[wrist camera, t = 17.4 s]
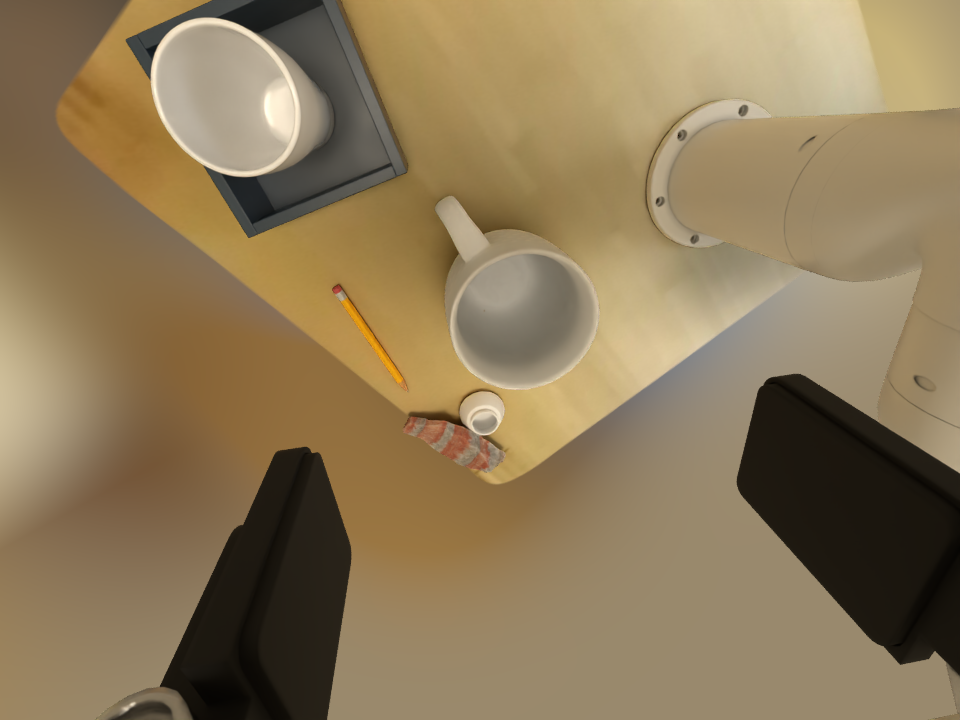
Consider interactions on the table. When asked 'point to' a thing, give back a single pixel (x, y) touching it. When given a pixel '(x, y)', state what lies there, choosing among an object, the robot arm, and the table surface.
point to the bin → (350, 87)
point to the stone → (456, 443)
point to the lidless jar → (482, 412)
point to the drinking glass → (237, 99)
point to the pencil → (369, 336)
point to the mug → (515, 304)
